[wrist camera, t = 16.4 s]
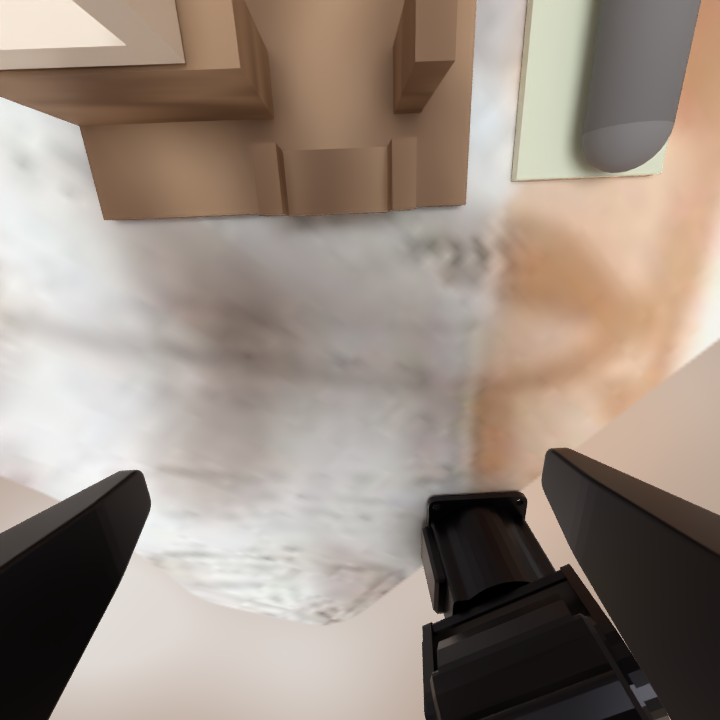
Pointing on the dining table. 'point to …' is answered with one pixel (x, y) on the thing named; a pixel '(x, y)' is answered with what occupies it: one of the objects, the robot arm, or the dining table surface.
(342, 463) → the dining table surface
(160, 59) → the beige wooden bar
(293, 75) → the cradle
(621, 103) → the grey rod
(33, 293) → the dining table surface
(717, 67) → the dining table surface
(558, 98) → the mat
